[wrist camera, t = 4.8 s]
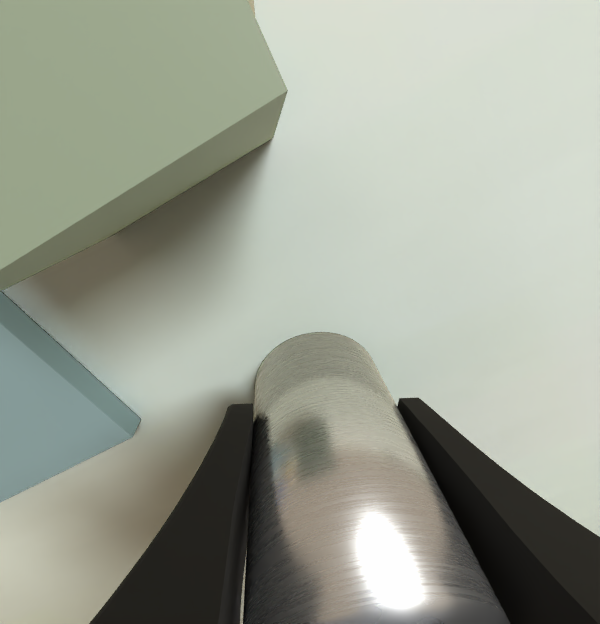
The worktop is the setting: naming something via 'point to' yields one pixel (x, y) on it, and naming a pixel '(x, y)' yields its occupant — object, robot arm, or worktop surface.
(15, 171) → the block
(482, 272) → the worktop surface
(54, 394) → the parts mat
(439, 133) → the worktop surface
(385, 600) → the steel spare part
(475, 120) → the worktop surface
